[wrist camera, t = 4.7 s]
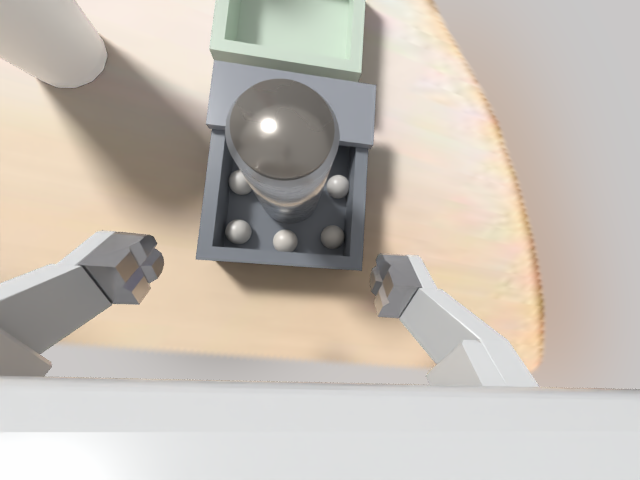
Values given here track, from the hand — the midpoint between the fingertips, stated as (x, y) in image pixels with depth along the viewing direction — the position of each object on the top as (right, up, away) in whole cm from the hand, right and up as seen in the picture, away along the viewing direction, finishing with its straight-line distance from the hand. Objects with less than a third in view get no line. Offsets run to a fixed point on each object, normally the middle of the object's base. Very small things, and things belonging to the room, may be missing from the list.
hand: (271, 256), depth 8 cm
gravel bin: (-1, +6, +12) cm, 13 cm away
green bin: (-1, +20, +13) cm, 25 cm away
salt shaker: (-1, +5, +11) cm, 12 cm away
